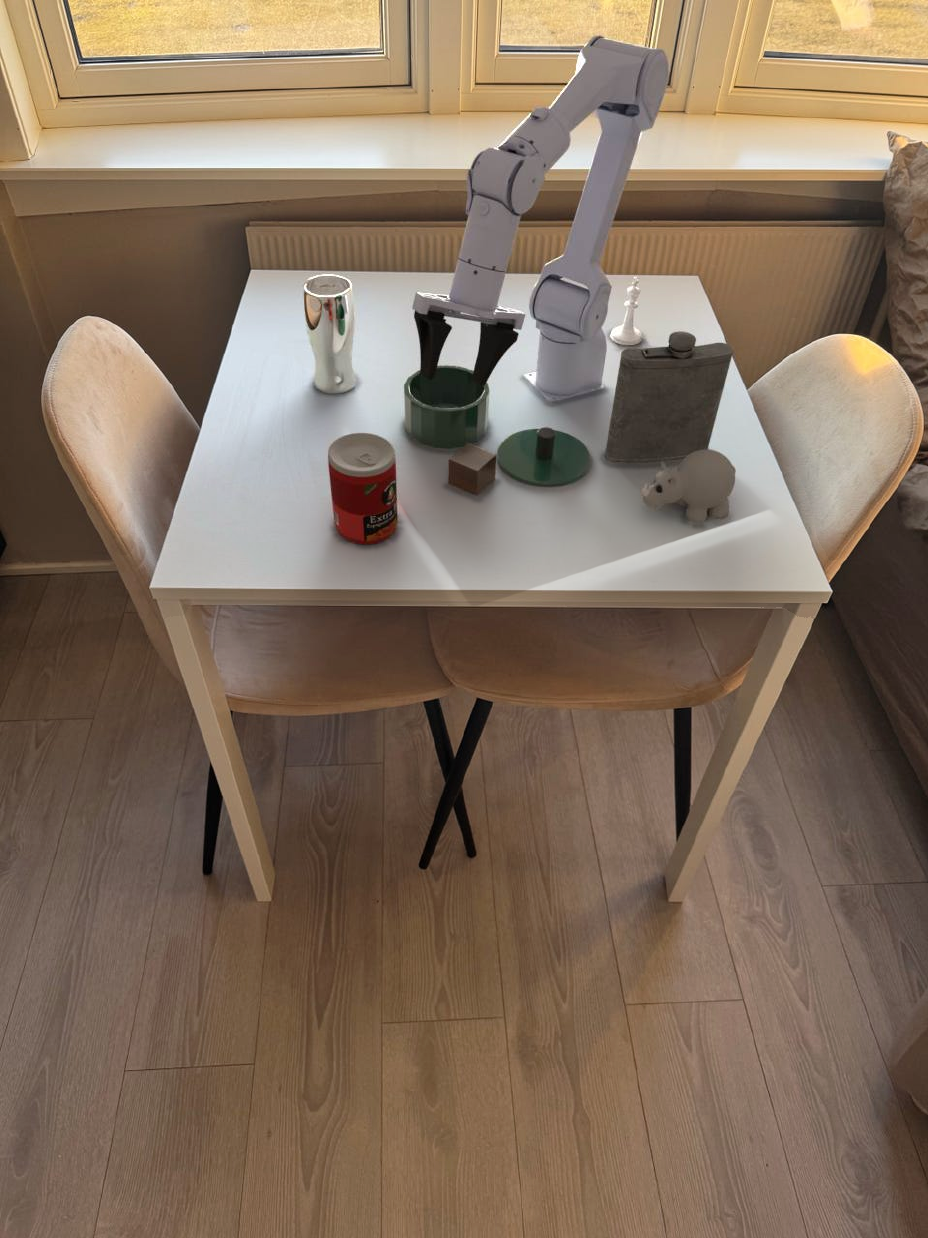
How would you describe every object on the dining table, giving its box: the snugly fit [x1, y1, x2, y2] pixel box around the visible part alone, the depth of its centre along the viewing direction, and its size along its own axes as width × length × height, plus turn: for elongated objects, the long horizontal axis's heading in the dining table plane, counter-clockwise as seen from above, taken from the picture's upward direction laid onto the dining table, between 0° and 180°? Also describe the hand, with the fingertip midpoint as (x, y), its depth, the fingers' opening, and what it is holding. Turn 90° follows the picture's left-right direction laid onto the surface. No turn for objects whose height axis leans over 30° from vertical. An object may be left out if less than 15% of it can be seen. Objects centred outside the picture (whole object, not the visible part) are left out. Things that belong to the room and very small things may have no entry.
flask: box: [604, 330, 734, 464], centre depth 119 cm, size 4×14×18 cm, turn 99°
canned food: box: [327, 432, 398, 545], centre depth 110 cm, size 8×8×11 cm
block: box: [447, 443, 497, 497], centre depth 119 cm, size 4×4×4 cm
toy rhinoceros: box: [641, 448, 736, 524], centre depth 114 cm, size 7×12×8 cm, turn 105°
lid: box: [496, 426, 592, 488], centre depth 122 cm, size 12×12×5 cm
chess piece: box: [610, 276, 642, 346], centre depth 144 cm, size 5×5×10 cm
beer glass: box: [302, 274, 357, 395], centre depth 131 cm, size 7×7×15 cm
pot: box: [403, 364, 490, 450], centre depth 127 cm, size 11×12×6 cm
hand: (452, 379), depth 113 cm, fingers open, 7 cm apart
